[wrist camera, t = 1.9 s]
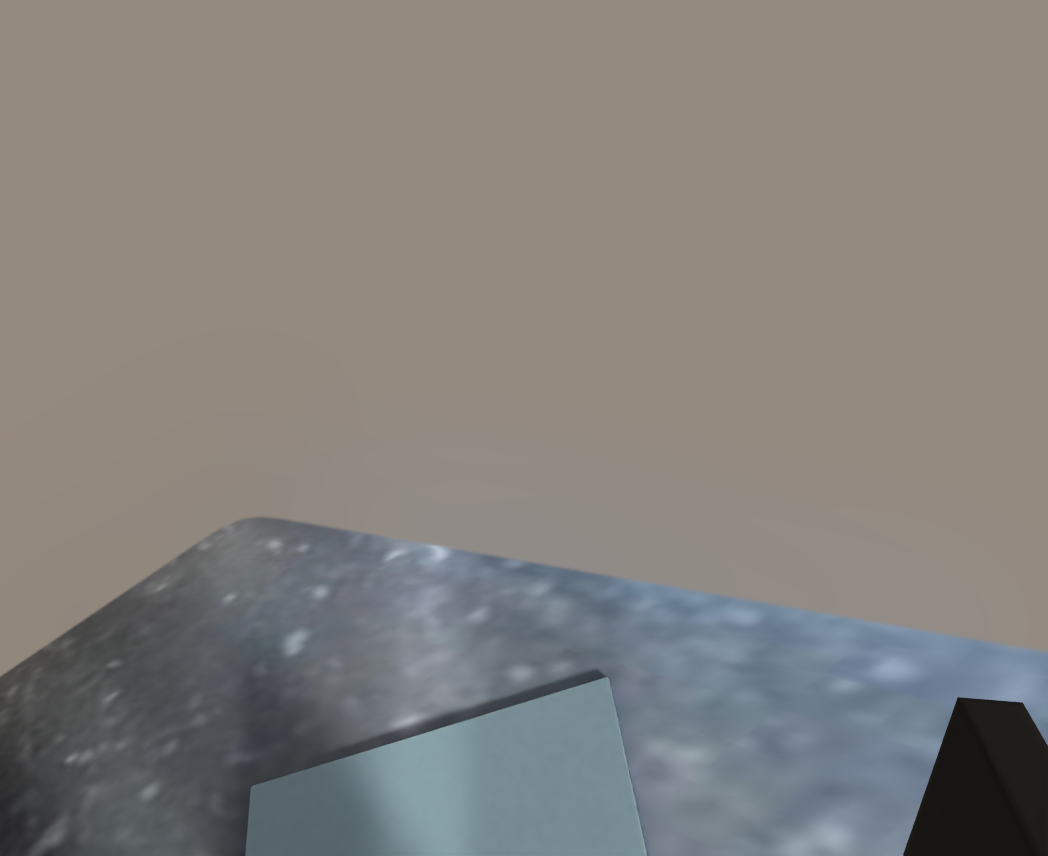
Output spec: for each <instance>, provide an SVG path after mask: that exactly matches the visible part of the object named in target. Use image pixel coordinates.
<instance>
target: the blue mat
mask: <svg viewBox="0 0 1048 856" xmlns="http://www.w3.org/2000/svg"><path fill="white" fill-rule="evenodd" d="M245 856H647V851H646V847H645V842H644V837H643V833H642V828H641V824H640V819H639V814H638V810H637V805H636V801H635V796H634V791H633V787H632V782H631V778H630V773H629V768H628V764H627V759H626V754H625V750H624V745H623V741H622V736H621V731H620V727H619V722H618V718H617V713H616V708H615V704H614V699H613V695H612V690H611V685H610V681H609V678H608V677H605V678H601V679H598V680H595V681H592V682H588V683H585V684H582V685H579V686H575V687H572V688H569V689H566V690H562V691H559V692H556V693H553V694H549V695H546V696H543V697H540V698H536V699H533V700H530V701H527V702H523V703H520V704H517V705H514V706H510V707H507V708H504V709H501V710H497V711H494V712H491V713H488V714H484V715H481V716H478V717H475V718H471V719H468V720H465V721H462V722H458V723H455V724H452V725H449V726H445V727H442V728H439V729H436V730H432V731H429V732H426V733H423V734H420V735H416V736H413V737H410V738H407V739H403V740H400V741H397V742H394V743H390V744H387V745H384V746H381V747H377V748H374V749H371V750H368V751H364V752H361V753H358V754H355V755H351V756H348V757H345V758H342V759H338V760H335V761H332V762H329V763H325V764H322V765H319V766H316V767H312V768H309V769H306V770H303V771H299V772H296V773H293V774H290V775H286V776H283V777H280V778H277V779H273V780H270V781H267V782H264V783H260V784H257V785H254V786H251V792H250V804H249V817H248V829H247V841H246V853H245Z"/></svg>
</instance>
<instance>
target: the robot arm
mask: <svg viewBox="0 0 1048 856" xmlns="http://www.w3.org/2000/svg"><path fill="white" fill-rule="evenodd" d="M903 855H904V856H1048V746H1047V744H1046V742H1045V740H1044V739H1043V737H1042V735H1041V734H1040V732H1039V730H1038V728H1037V727H1036V725H1035V723H1034V722H1033V720H1032V718H1031V716H1030V715H1029V713H1028V711H1027V709H1026V708H1025V706H1024V704H1023V703H1020V702H1008V701H995V700H983V699H971V698H957V701H956V704H955V707H954V710H953V713H952V716H951V718H950V721H949V724H948V727H947V730H946V733H945V736H944V739H943V742H942V744H941V747H940V750H939V753H938V756H937V759H936V762H935V765H934V768H933V770H932V773H931V776H930V779H929V782H928V785H927V788H926V791H925V794H924V796H923V799H922V802H921V805H920V808H919V811H918V814H917V817H916V820H915V822H914V825H913V828H912V831H911V834H910V837H909V840H908V843H907V846H906V848H905V851H904V854H903Z"/></svg>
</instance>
